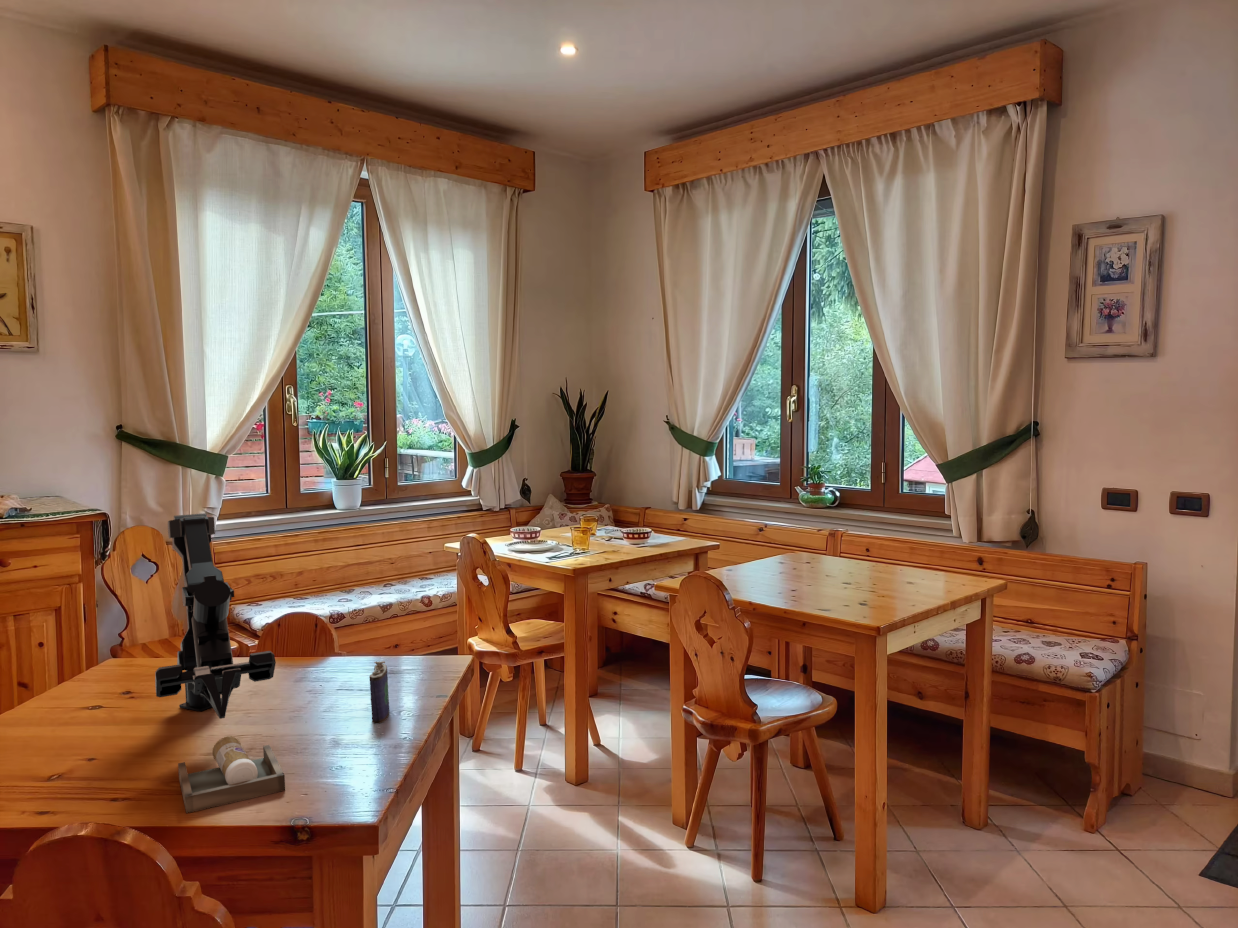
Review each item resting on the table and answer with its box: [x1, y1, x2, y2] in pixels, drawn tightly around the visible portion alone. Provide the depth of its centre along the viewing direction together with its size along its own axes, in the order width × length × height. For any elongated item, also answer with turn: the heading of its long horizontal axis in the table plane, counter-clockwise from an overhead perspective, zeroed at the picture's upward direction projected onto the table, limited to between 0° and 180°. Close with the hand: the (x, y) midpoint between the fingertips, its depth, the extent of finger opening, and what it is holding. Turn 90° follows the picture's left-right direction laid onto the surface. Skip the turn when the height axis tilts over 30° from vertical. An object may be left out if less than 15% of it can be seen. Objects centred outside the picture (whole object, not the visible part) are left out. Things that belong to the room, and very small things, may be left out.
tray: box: [177, 744, 286, 814], centre depth 138 cm, size 14×14×2 cm
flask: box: [369, 660, 390, 724], centre depth 168 cm, size 9×3×11 cm, turn 8°
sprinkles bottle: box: [212, 735, 258, 785], centre depth 140 cm, size 5×5×13 cm
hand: (222, 717), depth 145 cm, fingers closed
